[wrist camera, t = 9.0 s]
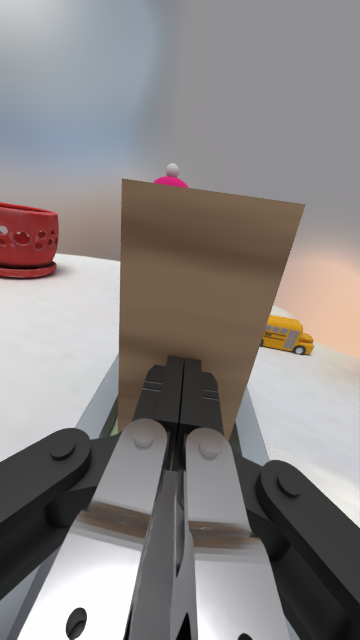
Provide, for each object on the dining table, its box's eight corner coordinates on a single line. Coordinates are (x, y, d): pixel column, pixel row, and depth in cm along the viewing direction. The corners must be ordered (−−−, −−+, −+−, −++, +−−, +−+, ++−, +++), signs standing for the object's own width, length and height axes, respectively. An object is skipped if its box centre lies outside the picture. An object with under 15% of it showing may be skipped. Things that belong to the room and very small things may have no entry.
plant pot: (-35, 280, 36) (-58, 196, 31) (-1, 263, 47) (-14, 200, 42) (56, 284, 40) (48, 210, 35) (67, 267, 51) (62, 210, 46)
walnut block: (218, 472, 13) (305, 204, 7) (117, 456, 13) (121, 178, 7) (210, 381, 20) (250, 213, 14) (145, 372, 20) (159, 200, 14)
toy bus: (310, 358, 28) (322, 331, 26) (232, 342, 29) (239, 316, 27) (301, 345, 30) (312, 320, 29) (231, 332, 31) (237, 307, 30)
